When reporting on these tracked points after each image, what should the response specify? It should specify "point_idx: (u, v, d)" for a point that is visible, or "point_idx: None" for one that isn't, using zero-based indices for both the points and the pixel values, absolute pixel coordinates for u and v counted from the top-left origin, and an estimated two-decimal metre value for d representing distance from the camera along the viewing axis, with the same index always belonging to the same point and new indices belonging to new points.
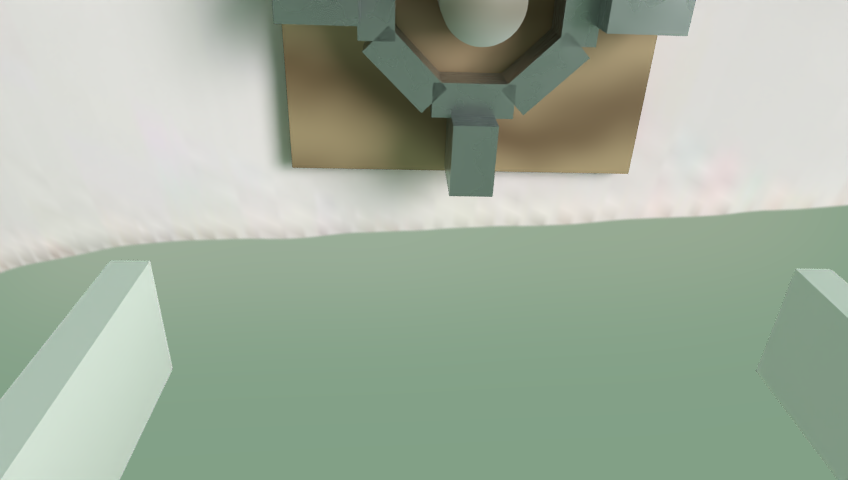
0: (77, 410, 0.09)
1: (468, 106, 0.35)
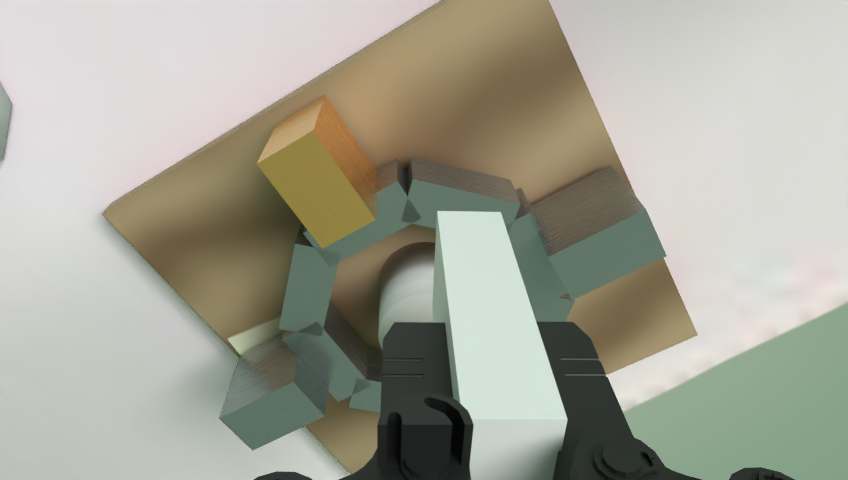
0: None
1: None
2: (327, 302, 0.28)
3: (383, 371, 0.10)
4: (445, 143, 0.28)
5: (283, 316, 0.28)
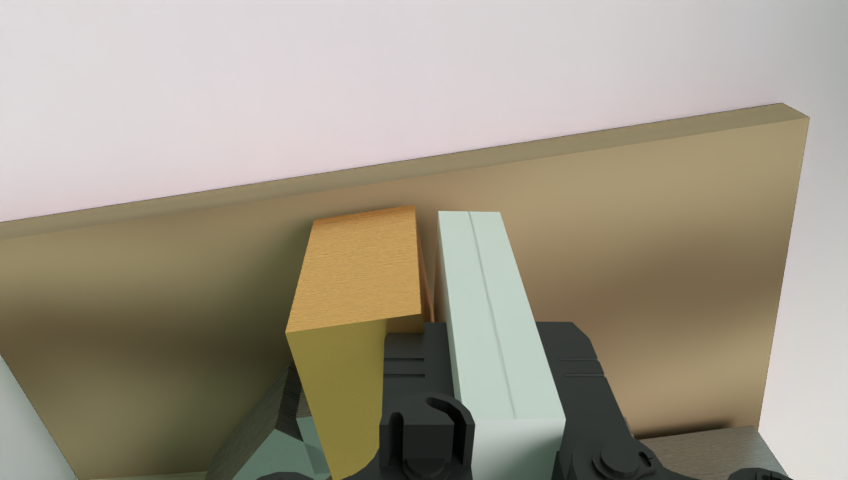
0: None
1: None
2: None
3: (384, 371, 0.10)
4: None
5: None
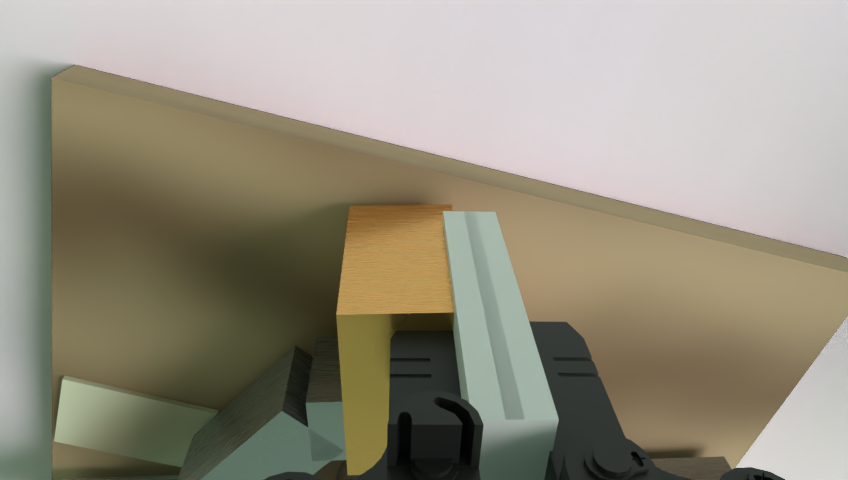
0: None
1: None
2: None
3: (391, 371, 0.10)
4: None
5: None
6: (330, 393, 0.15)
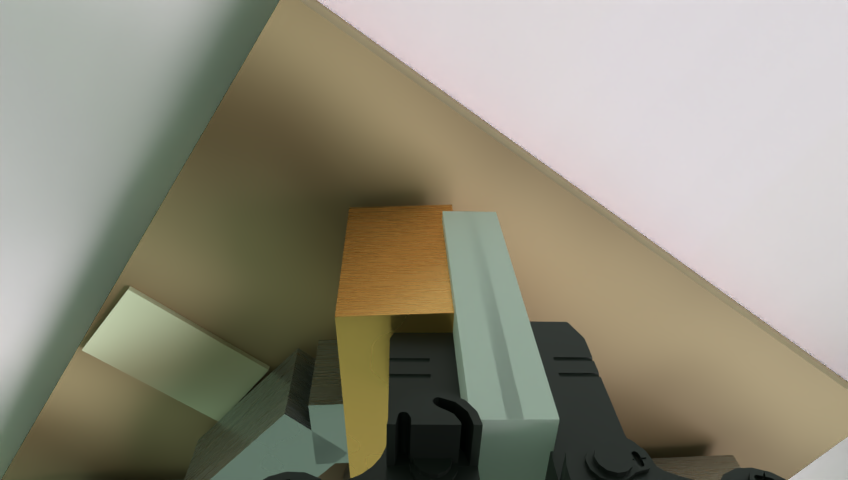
0: None
1: None
2: None
3: (390, 371, 0.10)
4: (626, 430, 0.20)
5: None
6: (332, 395, 0.15)
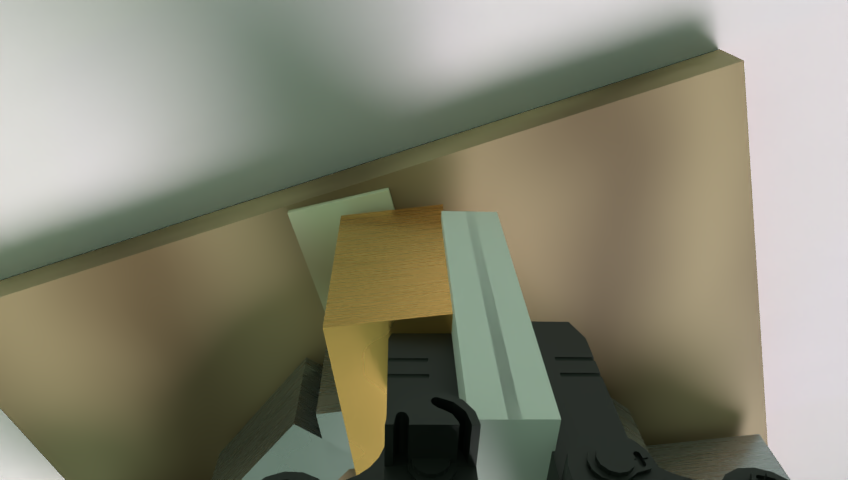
0: None
1: None
2: None
3: (388, 371, 0.10)
4: None
5: None
6: (340, 403, 0.15)
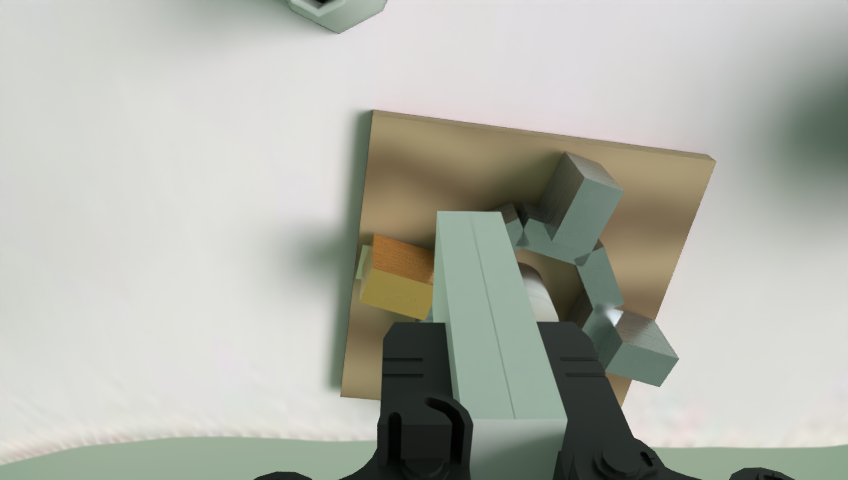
0: None
1: (595, 339, 0.42)
2: None
3: (383, 371, 0.10)
4: None
5: None
6: None
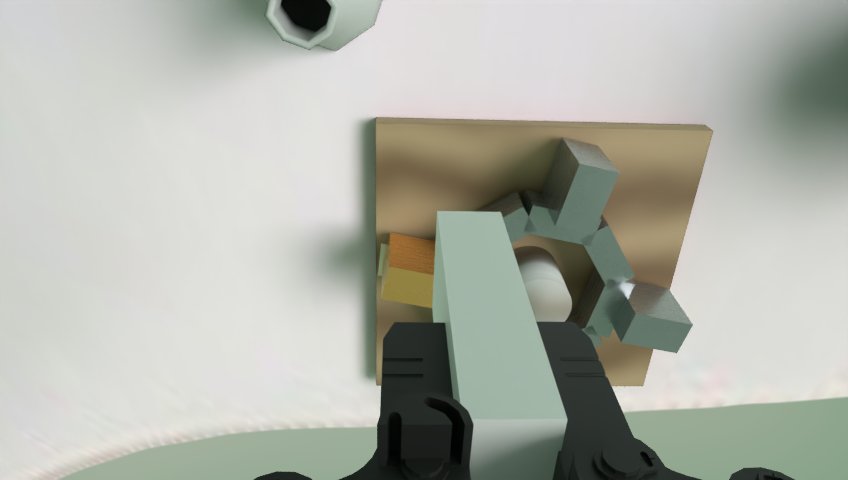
0: None
1: (611, 313, 0.43)
2: None
3: (383, 371, 0.10)
4: None
5: None
6: None
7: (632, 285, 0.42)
